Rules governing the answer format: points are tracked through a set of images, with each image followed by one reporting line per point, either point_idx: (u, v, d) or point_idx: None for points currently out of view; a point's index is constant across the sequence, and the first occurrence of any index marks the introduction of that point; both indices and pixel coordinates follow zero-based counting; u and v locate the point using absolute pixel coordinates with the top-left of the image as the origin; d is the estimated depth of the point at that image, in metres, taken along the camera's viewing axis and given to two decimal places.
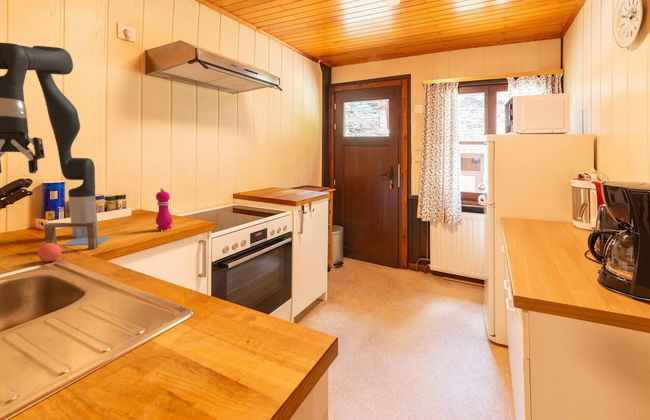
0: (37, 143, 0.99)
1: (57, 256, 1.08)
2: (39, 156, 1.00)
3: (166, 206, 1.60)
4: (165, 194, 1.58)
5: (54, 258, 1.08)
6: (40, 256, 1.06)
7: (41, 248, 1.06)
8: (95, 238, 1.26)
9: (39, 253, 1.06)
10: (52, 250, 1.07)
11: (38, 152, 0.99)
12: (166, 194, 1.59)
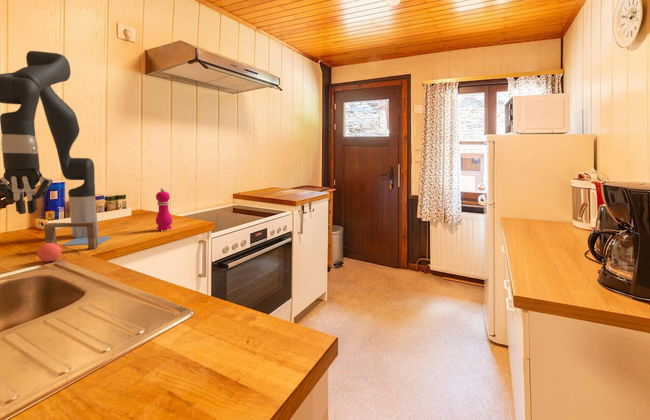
0: (45, 185, 0.96)
1: (57, 256, 1.08)
2: (38, 196, 0.96)
3: (166, 206, 1.60)
4: (165, 194, 1.58)
5: (54, 258, 1.08)
6: (40, 256, 1.06)
7: (41, 248, 1.06)
8: (95, 238, 1.26)
9: (39, 253, 1.06)
10: (52, 250, 1.07)
11: (40, 193, 0.96)
12: (166, 194, 1.59)
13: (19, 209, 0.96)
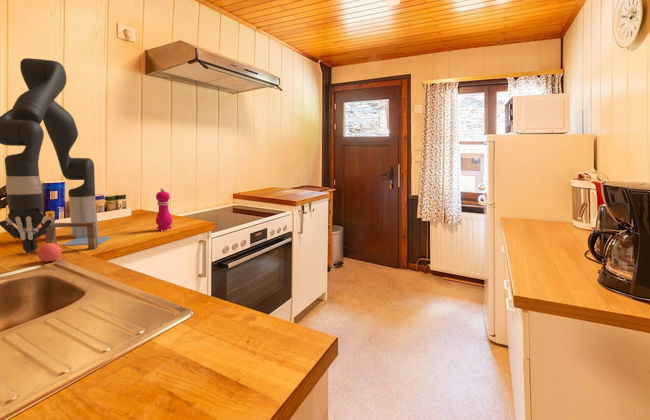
0: (47, 226, 0.98)
1: (57, 256, 1.08)
2: (39, 235, 0.98)
3: (166, 206, 1.60)
4: (165, 194, 1.58)
5: (54, 258, 1.08)
6: (40, 256, 1.06)
7: (41, 248, 1.06)
8: (95, 238, 1.26)
9: (39, 253, 1.06)
10: (52, 250, 1.07)
11: (40, 233, 0.97)
12: (166, 194, 1.59)
13: (26, 248, 0.97)
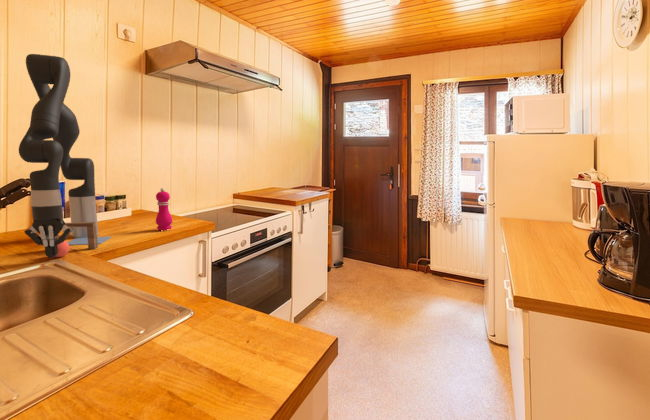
0: (66, 234, 1.09)
1: (64, 245, 1.13)
2: (59, 242, 1.09)
3: (166, 206, 1.60)
4: (165, 194, 1.58)
5: (61, 244, 1.12)
6: None
7: None
8: (95, 238, 1.26)
9: None
10: (65, 241, 1.15)
11: (61, 240, 1.09)
12: (166, 194, 1.59)
13: (48, 254, 1.09)
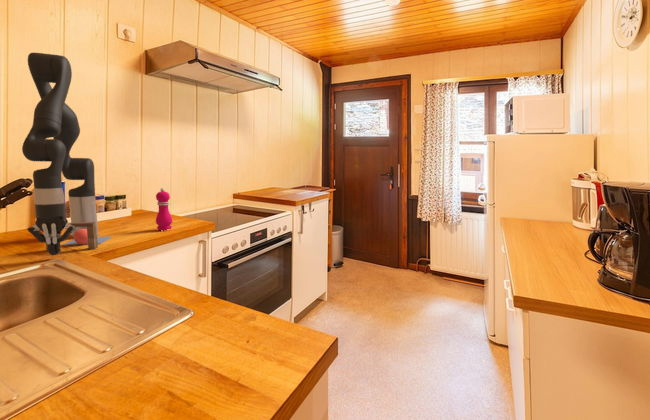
0: (69, 231, 1.11)
1: None
2: (62, 240, 1.11)
3: (166, 206, 1.60)
4: (165, 194, 1.58)
5: (86, 233, 1.31)
6: (77, 230, 1.31)
7: None
8: (95, 238, 1.26)
9: None
10: None
11: (63, 238, 1.11)
12: (166, 194, 1.59)
13: (51, 251, 1.10)
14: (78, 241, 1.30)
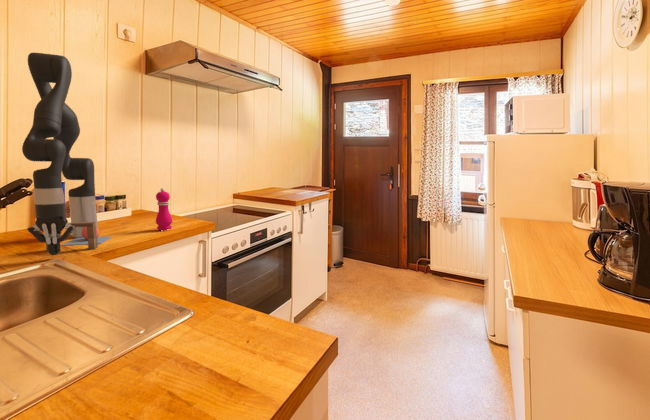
0: (69, 231, 1.11)
1: None
2: (62, 240, 1.11)
3: (166, 206, 1.60)
4: (165, 194, 1.58)
5: None
6: None
7: None
8: (95, 238, 1.26)
9: None
10: None
11: (63, 238, 1.11)
12: (166, 194, 1.59)
13: (51, 251, 1.10)
14: None
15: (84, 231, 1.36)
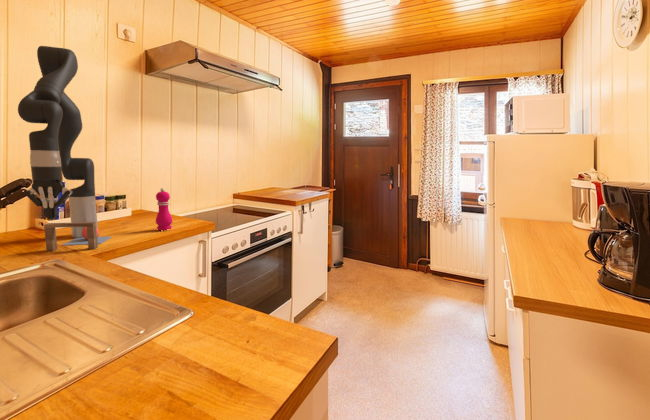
0: (66, 196, 1.09)
1: None
2: (59, 204, 1.09)
3: (166, 206, 1.60)
4: (165, 194, 1.58)
5: None
6: None
7: None
8: (95, 238, 1.26)
9: None
10: None
11: (60, 202, 1.09)
12: (166, 194, 1.59)
13: (47, 215, 1.09)
14: None
15: (84, 231, 1.36)
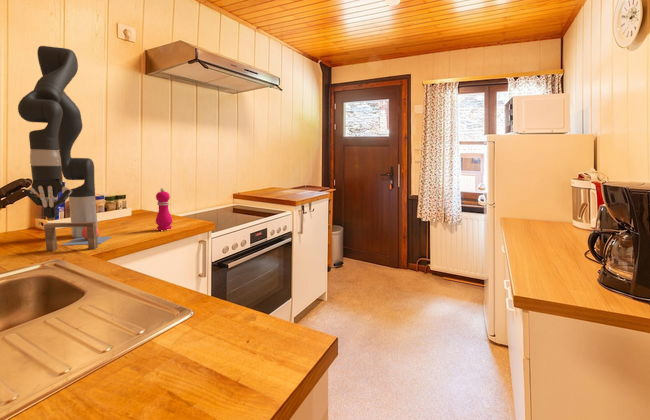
0: (66, 195, 1.09)
1: None
2: (59, 203, 1.09)
3: (166, 206, 1.60)
4: (165, 194, 1.58)
5: None
6: None
7: None
8: (95, 238, 1.26)
9: None
10: None
11: (60, 201, 1.09)
12: (166, 194, 1.59)
13: (47, 214, 1.09)
14: None
15: (84, 231, 1.36)
